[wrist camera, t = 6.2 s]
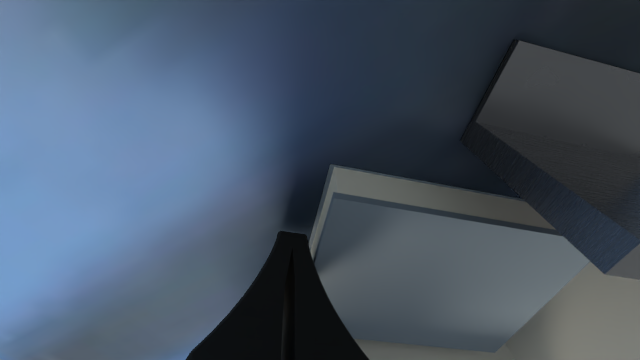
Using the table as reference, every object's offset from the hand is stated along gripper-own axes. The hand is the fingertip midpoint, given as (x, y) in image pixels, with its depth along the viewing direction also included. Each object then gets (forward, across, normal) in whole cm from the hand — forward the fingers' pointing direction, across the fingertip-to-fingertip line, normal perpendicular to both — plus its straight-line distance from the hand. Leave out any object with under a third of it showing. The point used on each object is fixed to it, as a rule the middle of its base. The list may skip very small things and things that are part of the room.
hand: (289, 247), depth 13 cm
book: (+2, -7, 0) cm, 7 cm away
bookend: (+1, -11, -8) cm, 14 cm away
